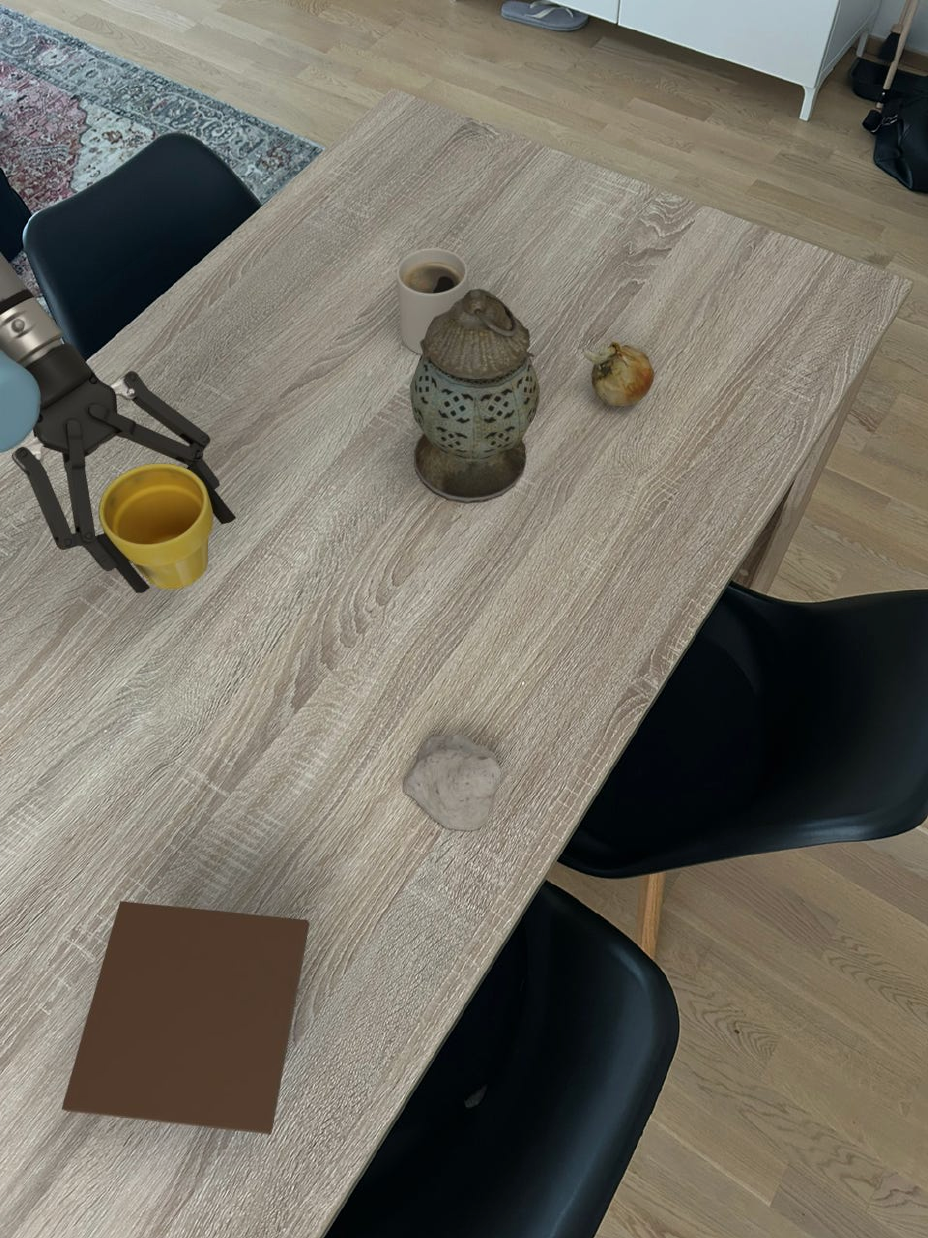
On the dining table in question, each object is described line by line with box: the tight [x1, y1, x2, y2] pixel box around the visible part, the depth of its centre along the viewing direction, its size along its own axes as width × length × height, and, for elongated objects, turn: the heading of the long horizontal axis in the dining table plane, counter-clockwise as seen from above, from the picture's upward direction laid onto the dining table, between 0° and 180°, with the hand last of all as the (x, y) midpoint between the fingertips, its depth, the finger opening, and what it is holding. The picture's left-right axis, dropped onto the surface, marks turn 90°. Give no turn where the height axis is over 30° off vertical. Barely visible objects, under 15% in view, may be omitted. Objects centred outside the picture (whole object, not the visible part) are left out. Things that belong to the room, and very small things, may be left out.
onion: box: [582, 341, 655, 407], centre depth 127 cm, size 8×8×8 cm
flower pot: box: [97, 462, 214, 591], centre depth 102 cm, size 10×10×10 cm
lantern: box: [409, 288, 541, 504], centre depth 114 cm, size 14×14×25 cm
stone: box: [402, 734, 503, 832], centre depth 101 cm, size 10×5×10 cm
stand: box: [61, 900, 310, 1136], centre depth 86 cm, size 16×16×9 cm
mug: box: [395, 247, 469, 356], centre depth 133 cm, size 11×10×10 cm
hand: (187, 555), depth 102 cm, fingers closed on flower pot, 10 cm apart
